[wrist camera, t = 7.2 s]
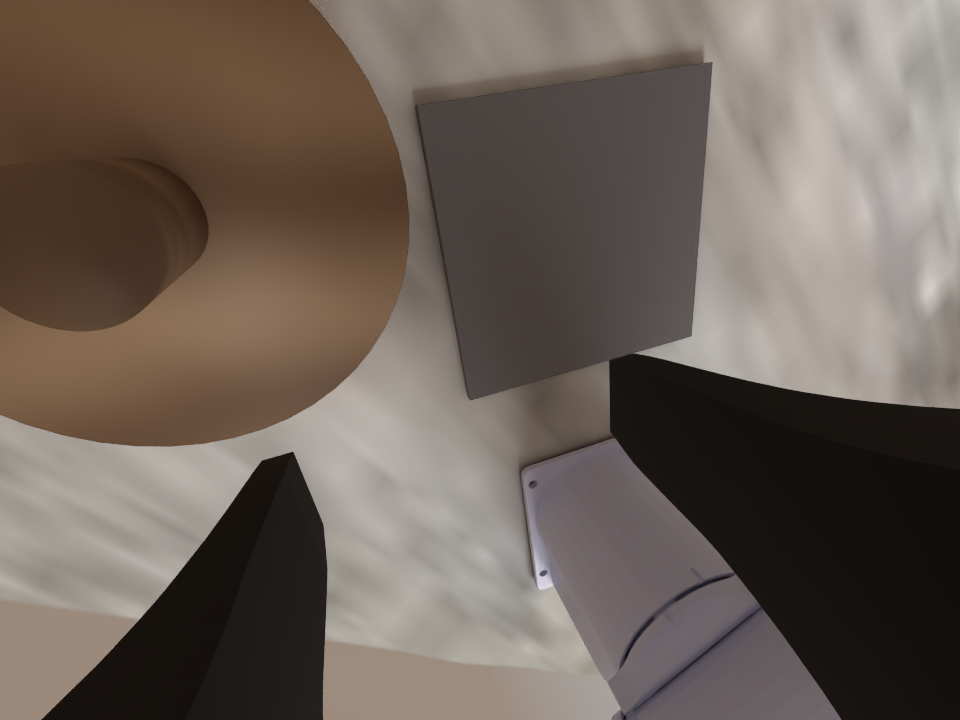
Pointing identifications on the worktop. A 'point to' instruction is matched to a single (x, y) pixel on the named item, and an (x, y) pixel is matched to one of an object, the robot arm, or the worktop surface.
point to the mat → (568, 220)
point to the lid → (187, 216)
